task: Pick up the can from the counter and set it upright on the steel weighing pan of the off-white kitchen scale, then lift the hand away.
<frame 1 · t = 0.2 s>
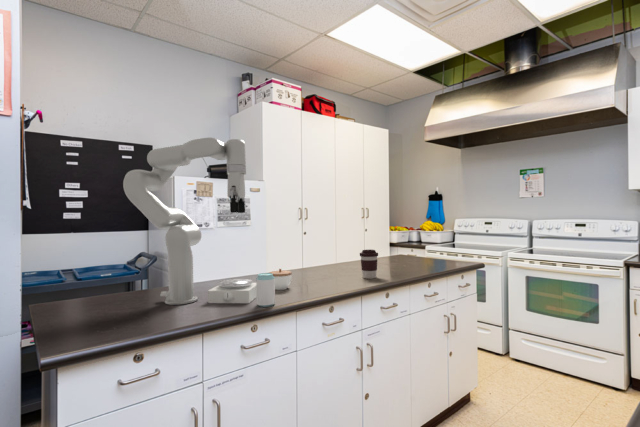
hand: (238, 212, 142), 36 cm above the counter, tool pointing down, fingers open, 9 cm apart
scale pan: (235, 283, 149), point 6 cm above the counter, slide at -0.4 cm
scale base: (235, 298, 149), on the counter
coffee cup: (369, 278, 190), on the counter
can: (266, 305, 136), on the counter
lidded jar: (280, 288, 167), on the counter
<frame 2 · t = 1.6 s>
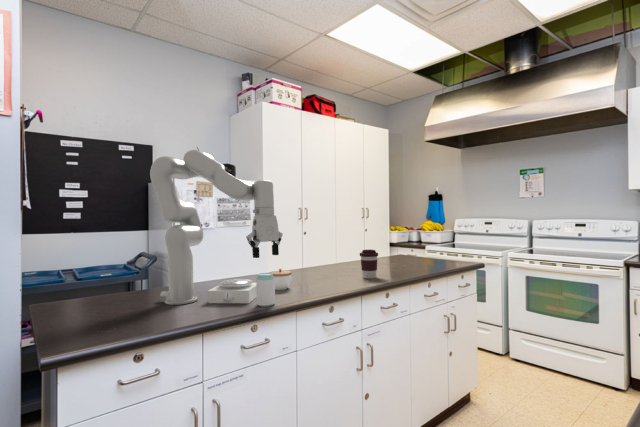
hand: (266, 256, 136), 19 cm above the counter, tool pointing down, fingers open, 9 cm apart
nothing on the counter moved.
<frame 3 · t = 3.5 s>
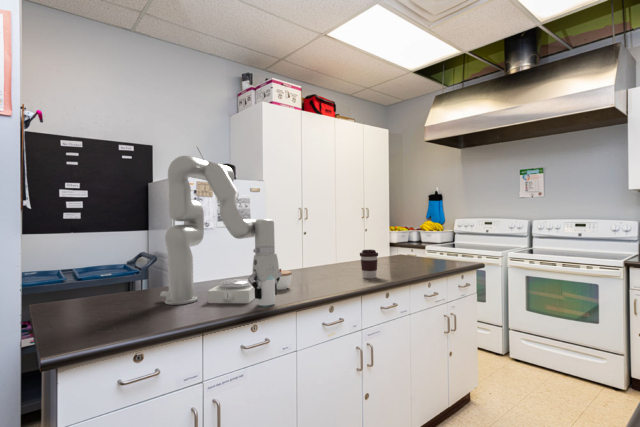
hand: (265, 296, 136), 3 cm above the counter, tool pointing down, fingers closed on can, 7 cm apart
can: (266, 305, 136), on the counter, touching gripper
everything else where it was.
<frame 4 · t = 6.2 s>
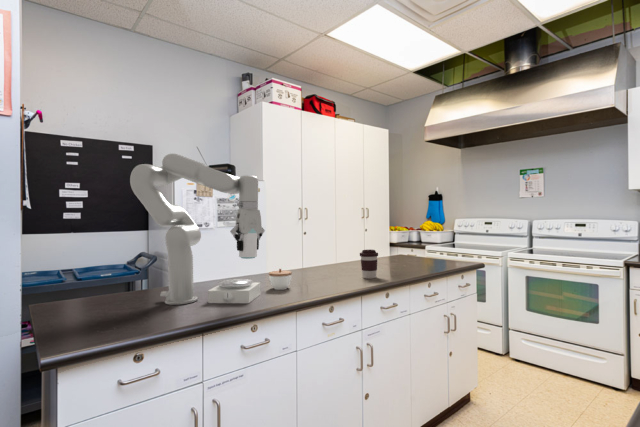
hand: (247, 249, 142), 21 cm above the counter, tool pointing down, fingers closed on can, 7 cm apart
can: (248, 258, 142), point 17 cm above the counter, touching gripper
everything else where it was.
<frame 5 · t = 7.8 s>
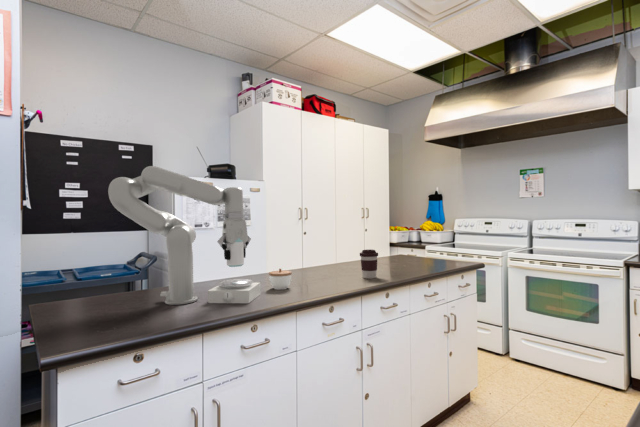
hand: (235, 258, 149), 17 cm above the counter, tool pointing down, fingers closed on can, 7 cm apart
can: (235, 266, 149), point 13 cm above the counter, touching gripper
everything else where it was.
when the fingers open (12 cm above the counter, at t = 9.2 s): can drops 3 cm, resting on scale pan.
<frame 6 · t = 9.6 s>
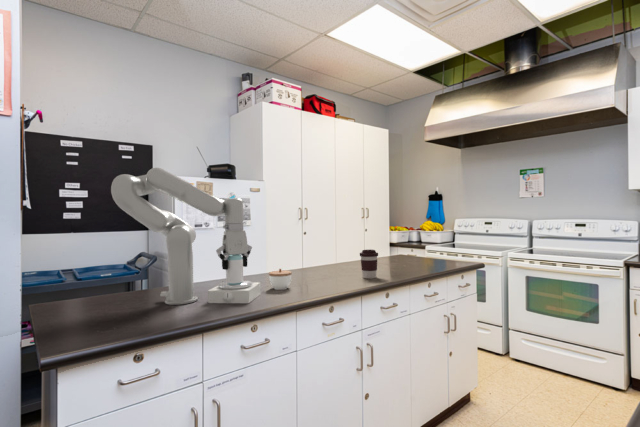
hand: (235, 267, 149), 13 cm above the counter, tool pointing down, fingers open, 9 cm apart
scale pan: (235, 284, 149), point 6 cm above the counter, slide at -1.0 cm, touching can
can: (234, 283, 149), point 6 cm above the counter, touching scale pan
everything else where it was.
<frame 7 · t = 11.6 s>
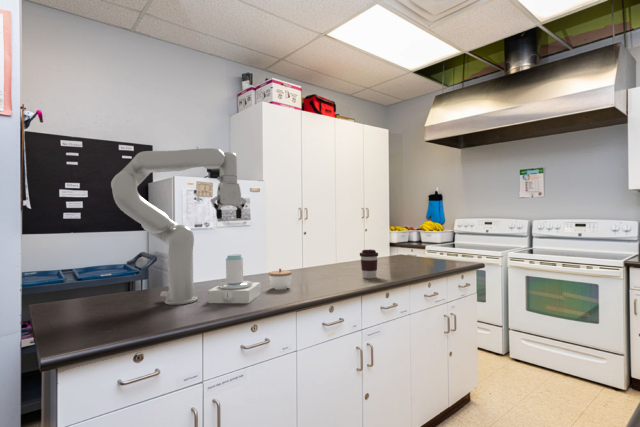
hand: (229, 218, 157), 34 cm above the counter, tool pointing down, fingers open, 9 cm apart
nothing on the counter moved.
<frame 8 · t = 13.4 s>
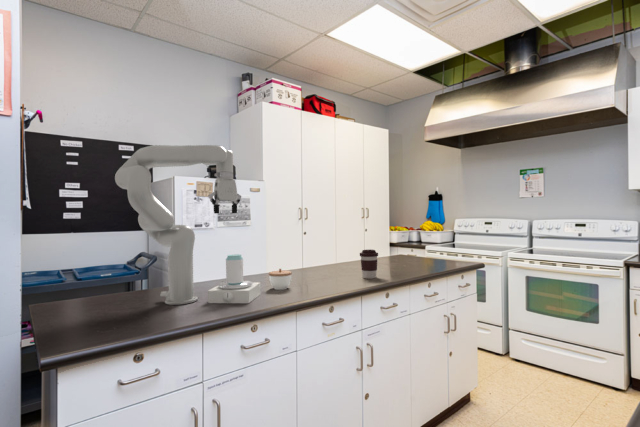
hand: (225, 213, 164), 36 cm above the counter, tool pointing down, fingers open, 9 cm apart
nothing on the counter moved.
at the end: can inside the target area on the scale base (0.2 cm from its centre), point 6.1 cm above the scale base's base; can tilted 0°; can touching scale pan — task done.
